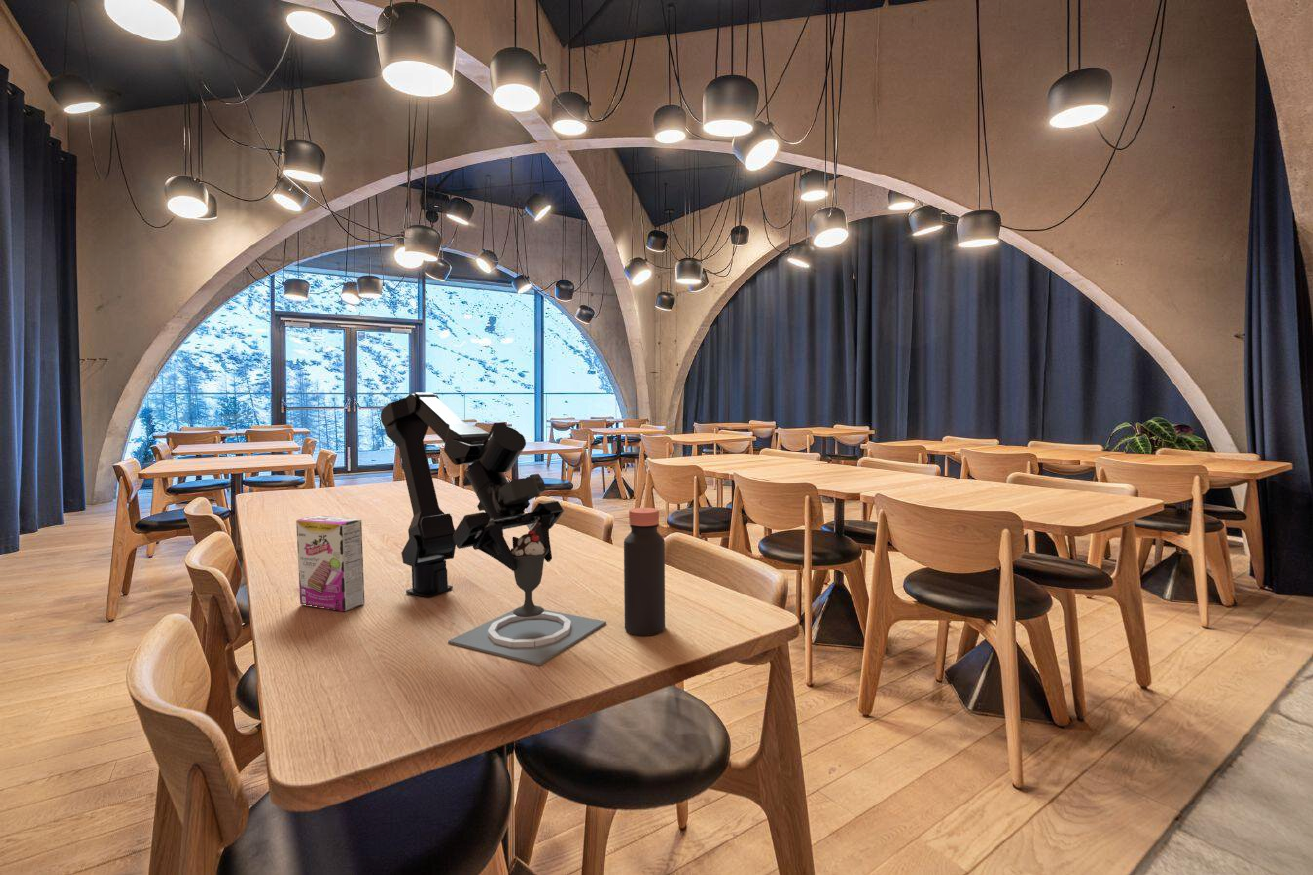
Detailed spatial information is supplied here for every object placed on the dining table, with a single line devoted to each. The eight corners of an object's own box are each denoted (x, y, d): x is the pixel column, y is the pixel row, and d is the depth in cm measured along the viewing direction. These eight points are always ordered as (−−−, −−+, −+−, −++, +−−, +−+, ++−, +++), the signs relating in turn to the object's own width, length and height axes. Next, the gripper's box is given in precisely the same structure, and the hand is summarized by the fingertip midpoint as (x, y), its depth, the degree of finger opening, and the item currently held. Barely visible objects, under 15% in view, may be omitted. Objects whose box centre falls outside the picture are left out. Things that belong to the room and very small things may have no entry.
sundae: (552, 616, 96) (552, 524, 95) (509, 620, 94) (508, 526, 93) (546, 602, 102) (546, 516, 101) (506, 606, 100) (505, 518, 99)
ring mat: (448, 643, 95) (448, 635, 94) (523, 607, 110) (523, 601, 110) (539, 665, 86) (539, 657, 86) (606, 623, 102) (606, 616, 102)
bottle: (635, 639, 95) (634, 515, 94) (618, 625, 101) (616, 508, 100) (672, 632, 98) (672, 511, 97) (653, 618, 104) (653, 505, 103)
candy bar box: (297, 606, 112) (294, 519, 111) (320, 598, 116) (317, 514, 115) (344, 613, 108) (340, 523, 107) (366, 604, 113) (362, 518, 112)
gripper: (461, 464, 92) (504, 547, 86) (556, 455, 106) (599, 525, 100) (436, 508, 98) (474, 589, 91) (529, 494, 112) (569, 563, 105)
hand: (533, 564), depth 97 cm, fingers closed on sundae, 6 cm apart
